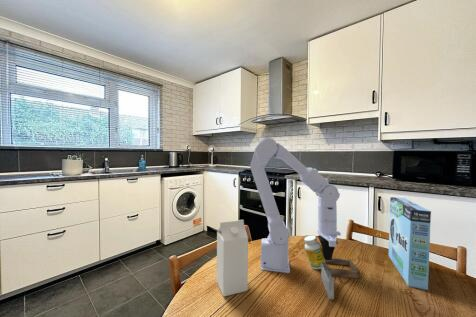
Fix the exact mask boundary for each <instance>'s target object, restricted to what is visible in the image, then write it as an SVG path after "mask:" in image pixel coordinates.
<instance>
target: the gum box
mask: <svg viewBox="0 0 476 317" xmlns="http://www.w3.org/2000/svg"><path fill="white" fill-rule="evenodd" d="M389 198H390V199H389V200H390V203H389V204H390V205H389V224H388V226H389V227H388V228H389V230H388V231H389V232H388V234H389V235H388V257H389V259H390V260H391V262H392V263H393V265H394V266H395V268H396V269H397V271H398V272H399V275H400V276H401V277H402V279H403V280H404V282H405V283H406V285H407V286H408V287H411V288H416V289H420V290H424V291H429V272H430V249H431V248H430V247H431V246H430V245H431V244H430V242H431V218H432V210H429V209H427V208H425V207H423V206H421V205H419V204H417V203H415V202H413V201H411V200H409V199H407V198H406V197H389Z"/></svg>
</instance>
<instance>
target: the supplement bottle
mask: <svg viewBox="0 0 476 317" xmlns="http://www.w3.org/2000/svg"><path fill="white" fill-rule="evenodd" d="M304 243H305V244H304V250H305V253H306V256H307V259H308V262H309V266H310V267H311V268H312V269H314V270H321V262H326V261H325V258H324V255H323V251H322V246H321V243H320V241H318V240H317V237H316V236H315V235H307V236H305V237H304Z"/></svg>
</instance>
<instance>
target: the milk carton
mask: <svg viewBox="0 0 476 317" xmlns="http://www.w3.org/2000/svg"><path fill="white" fill-rule="evenodd" d="M244 221H245V220H244V219H239V220H230V221H221V222H219V228H218V230H217V231H216V283H217V285H218V287H219V289H220V292H221V295H222V296H223V297H227V296H232V295H236V294H240V293H244V292H248V285H249V284H248V282H249V280H248V278H249V277H248V274H249V273H248V272H249V265H248V264H249V236H248V232H247V230H246V227H245V222H244Z"/></svg>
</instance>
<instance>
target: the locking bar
mask: <svg viewBox="0 0 476 317" xmlns="http://www.w3.org/2000/svg"><path fill="white" fill-rule="evenodd" d="M327 264H328V263H326V262H321V269H320V272H321V274H320V278H321V280H322V284H323V287H324V289H325V292H326V295H327V298H328V300H332V301H333V300H335V298H334V297H335V280H334V278H333V275H331V273H330V271H329V269H328V268H329V266H328V265H327Z"/></svg>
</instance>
